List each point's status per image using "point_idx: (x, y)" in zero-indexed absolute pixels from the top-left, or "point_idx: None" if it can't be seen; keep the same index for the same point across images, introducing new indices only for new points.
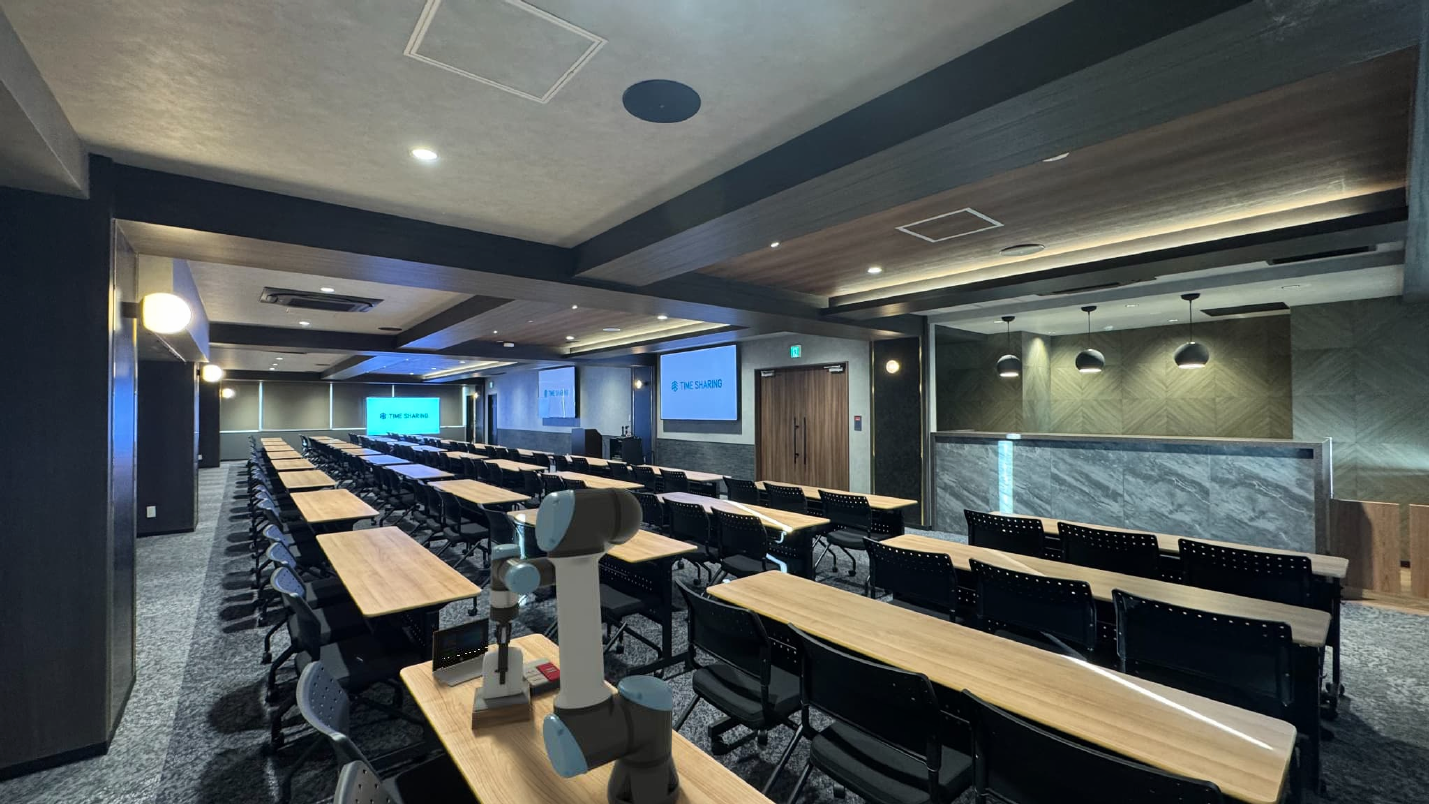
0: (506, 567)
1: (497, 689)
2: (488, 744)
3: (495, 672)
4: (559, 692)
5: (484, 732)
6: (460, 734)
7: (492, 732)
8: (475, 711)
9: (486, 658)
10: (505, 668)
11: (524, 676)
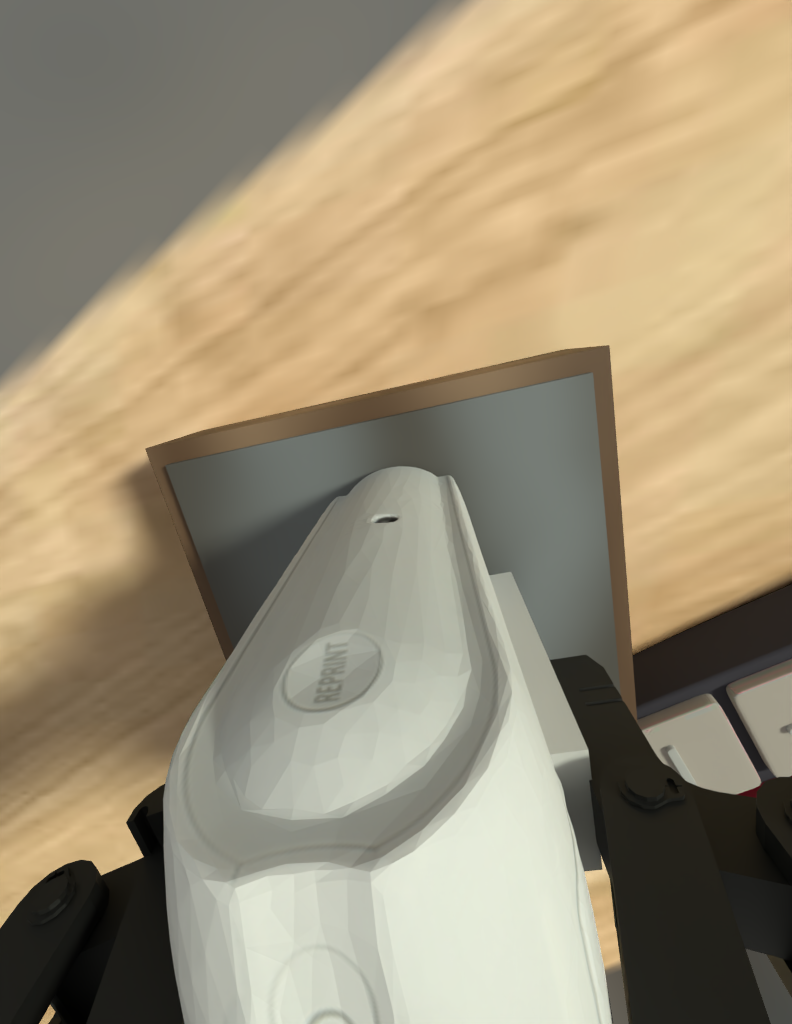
0: None
1: None
2: (62, 565)
3: (158, 800)
4: None
5: None
6: (144, 375)
7: (177, 559)
8: (169, 469)
9: (169, 851)
10: (62, 1015)
11: (756, 686)
